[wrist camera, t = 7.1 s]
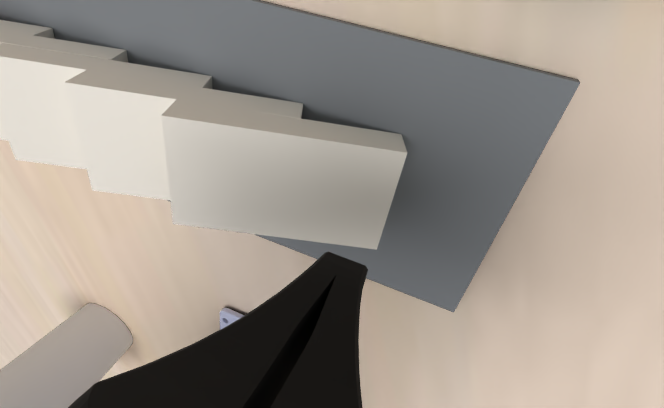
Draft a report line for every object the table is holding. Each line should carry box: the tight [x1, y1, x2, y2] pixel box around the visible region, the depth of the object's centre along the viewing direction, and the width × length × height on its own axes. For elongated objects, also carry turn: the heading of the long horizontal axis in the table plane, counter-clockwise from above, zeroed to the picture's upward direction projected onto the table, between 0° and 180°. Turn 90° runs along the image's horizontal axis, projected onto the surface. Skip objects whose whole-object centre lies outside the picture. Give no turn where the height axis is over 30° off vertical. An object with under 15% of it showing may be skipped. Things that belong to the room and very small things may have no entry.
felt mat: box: [0, 0, 580, 312], centre depth 19 cm, size 12×31×1 cm, turn 80°
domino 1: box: [0, 30, 128, 141], centre depth 19 cm, size 2×5×9 cm
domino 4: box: [161, 99, 407, 250], centre depth 16 cm, size 2×5×9 cm
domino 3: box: [64, 70, 303, 200], centre depth 17 cm, size 2×5×9 cm
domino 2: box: [0, 43, 212, 169], centre depth 18 cm, size 2×5×9 cm
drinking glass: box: [0, 303, 133, 408], centre depth 32 cm, size 7×7×10 cm
